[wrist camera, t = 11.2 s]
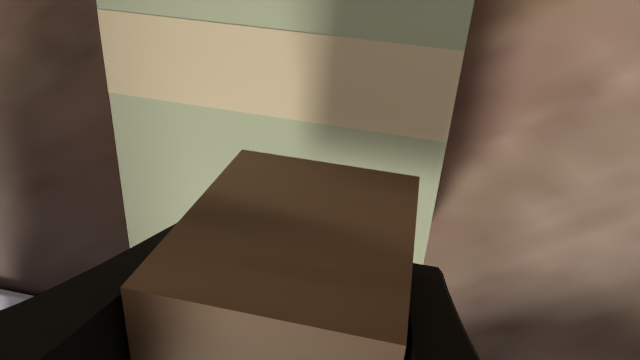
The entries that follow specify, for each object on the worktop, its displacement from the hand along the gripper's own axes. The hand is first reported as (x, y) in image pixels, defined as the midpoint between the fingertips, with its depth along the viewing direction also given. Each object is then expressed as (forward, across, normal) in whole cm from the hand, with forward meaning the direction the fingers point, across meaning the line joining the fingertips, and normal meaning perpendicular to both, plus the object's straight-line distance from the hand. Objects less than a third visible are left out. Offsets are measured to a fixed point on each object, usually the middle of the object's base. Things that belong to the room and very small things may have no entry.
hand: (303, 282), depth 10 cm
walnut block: (+2, 0, 0) cm, 2 cm away
